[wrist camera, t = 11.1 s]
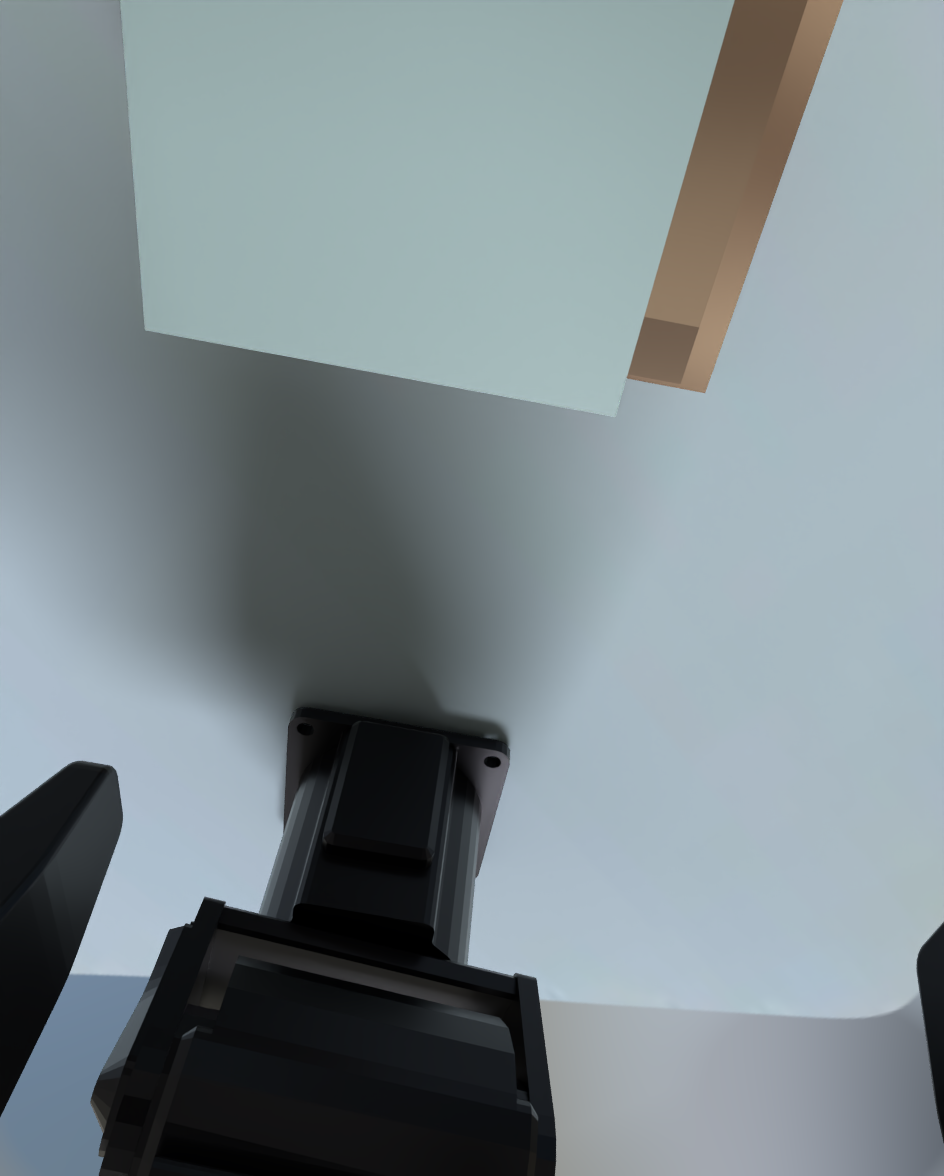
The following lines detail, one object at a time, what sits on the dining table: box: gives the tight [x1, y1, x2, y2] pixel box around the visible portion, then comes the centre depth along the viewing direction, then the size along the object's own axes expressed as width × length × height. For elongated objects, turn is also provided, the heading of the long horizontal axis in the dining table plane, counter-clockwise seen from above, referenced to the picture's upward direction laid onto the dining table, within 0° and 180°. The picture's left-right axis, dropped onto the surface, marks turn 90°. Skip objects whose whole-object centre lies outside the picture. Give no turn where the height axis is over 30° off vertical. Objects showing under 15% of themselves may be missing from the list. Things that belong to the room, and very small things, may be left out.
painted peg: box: [120, 0, 735, 417], centre depth 11 cm, size 5×5×9 cm
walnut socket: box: [627, 0, 843, 393], centre depth 13 cm, size 11×11×4 cm
